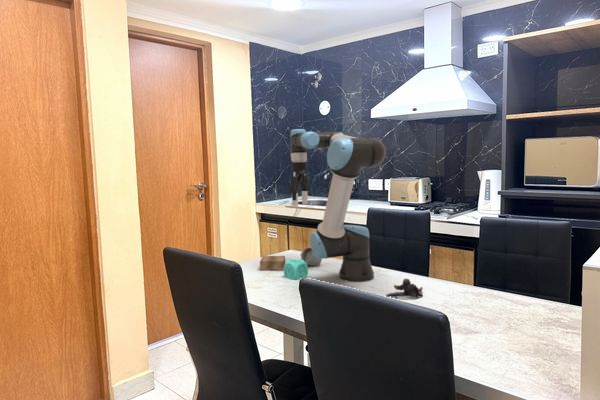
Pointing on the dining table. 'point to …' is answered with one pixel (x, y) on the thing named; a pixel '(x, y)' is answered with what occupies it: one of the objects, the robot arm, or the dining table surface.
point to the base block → (272, 263)
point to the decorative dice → (295, 269)
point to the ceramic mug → (310, 257)
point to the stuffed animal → (406, 291)
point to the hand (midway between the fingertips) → (300, 205)
